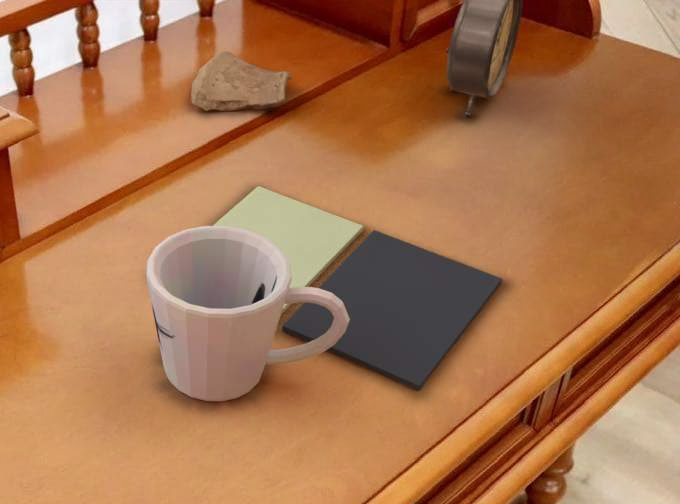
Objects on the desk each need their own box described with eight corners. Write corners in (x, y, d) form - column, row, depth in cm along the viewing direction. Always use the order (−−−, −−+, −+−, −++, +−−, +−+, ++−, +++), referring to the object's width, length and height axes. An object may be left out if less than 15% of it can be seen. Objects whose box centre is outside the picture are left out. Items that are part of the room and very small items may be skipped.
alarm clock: (479, 127, 111) (515, -30, 100) (427, 113, 113) (457, -41, 102) (509, 80, 118) (546, -70, 107) (460, 69, 120) (491, -80, 109)
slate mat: (501, 284, 92) (502, 278, 92) (418, 391, 83) (419, 386, 82) (372, 234, 98) (373, 229, 97) (281, 331, 88) (282, 325, 88)
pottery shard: (189, 123, 114) (282, 116, 111) (181, 84, 112) (276, 75, 108) (215, 80, 122) (303, 72, 119) (208, 43, 120) (297, 33, 116)
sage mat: (362, 231, 98) (363, 225, 98) (270, 326, 89) (271, 320, 88) (257, 190, 103) (258, 185, 102) (159, 277, 93) (159, 271, 93)
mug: (158, 317, 89) (159, 216, 83) (342, 340, 87) (359, 238, 80) (134, 406, 82) (133, 303, 75) (335, 433, 80) (352, 330, 73)
